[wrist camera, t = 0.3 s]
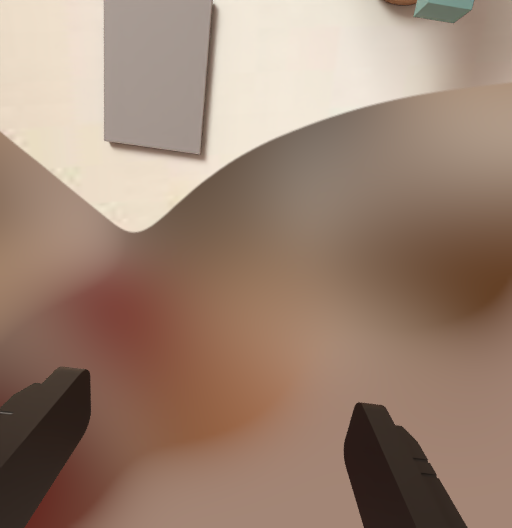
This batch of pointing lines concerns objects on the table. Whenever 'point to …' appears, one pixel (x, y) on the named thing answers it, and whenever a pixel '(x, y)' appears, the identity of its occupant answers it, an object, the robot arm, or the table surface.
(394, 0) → the stand
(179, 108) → the mat
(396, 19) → the table surface
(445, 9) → the teal square frame paddle
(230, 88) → the table surface
